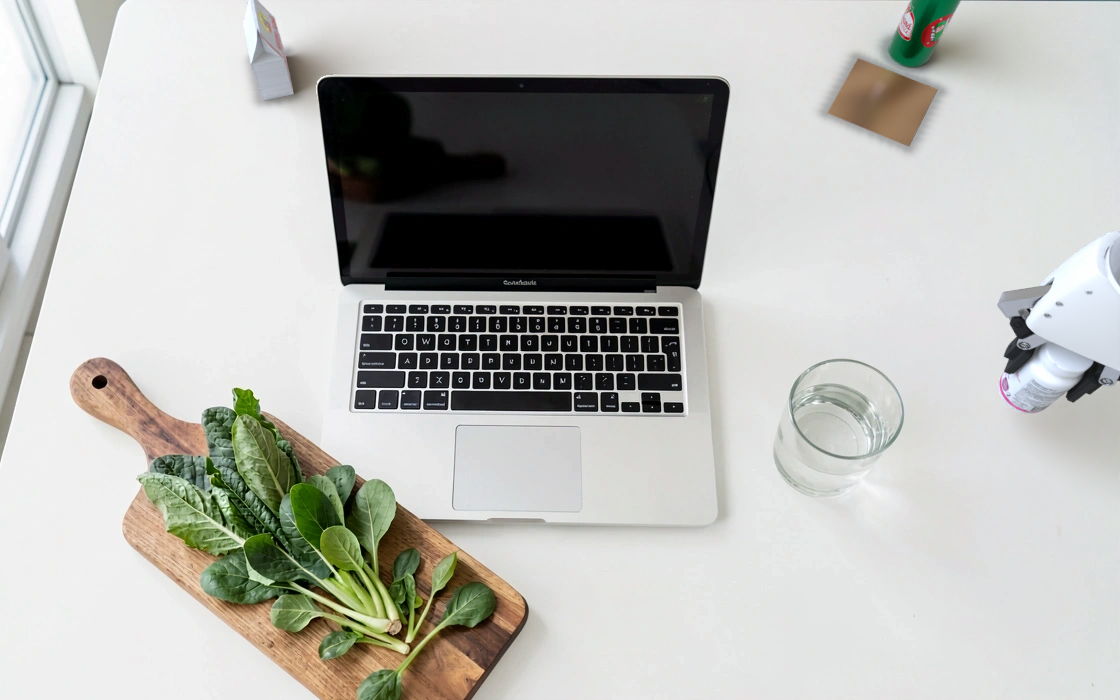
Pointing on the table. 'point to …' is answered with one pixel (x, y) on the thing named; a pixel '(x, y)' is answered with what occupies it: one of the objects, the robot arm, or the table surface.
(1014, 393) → the pill bottle
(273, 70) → the milk carton
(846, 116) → the coaster
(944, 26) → the soda can
